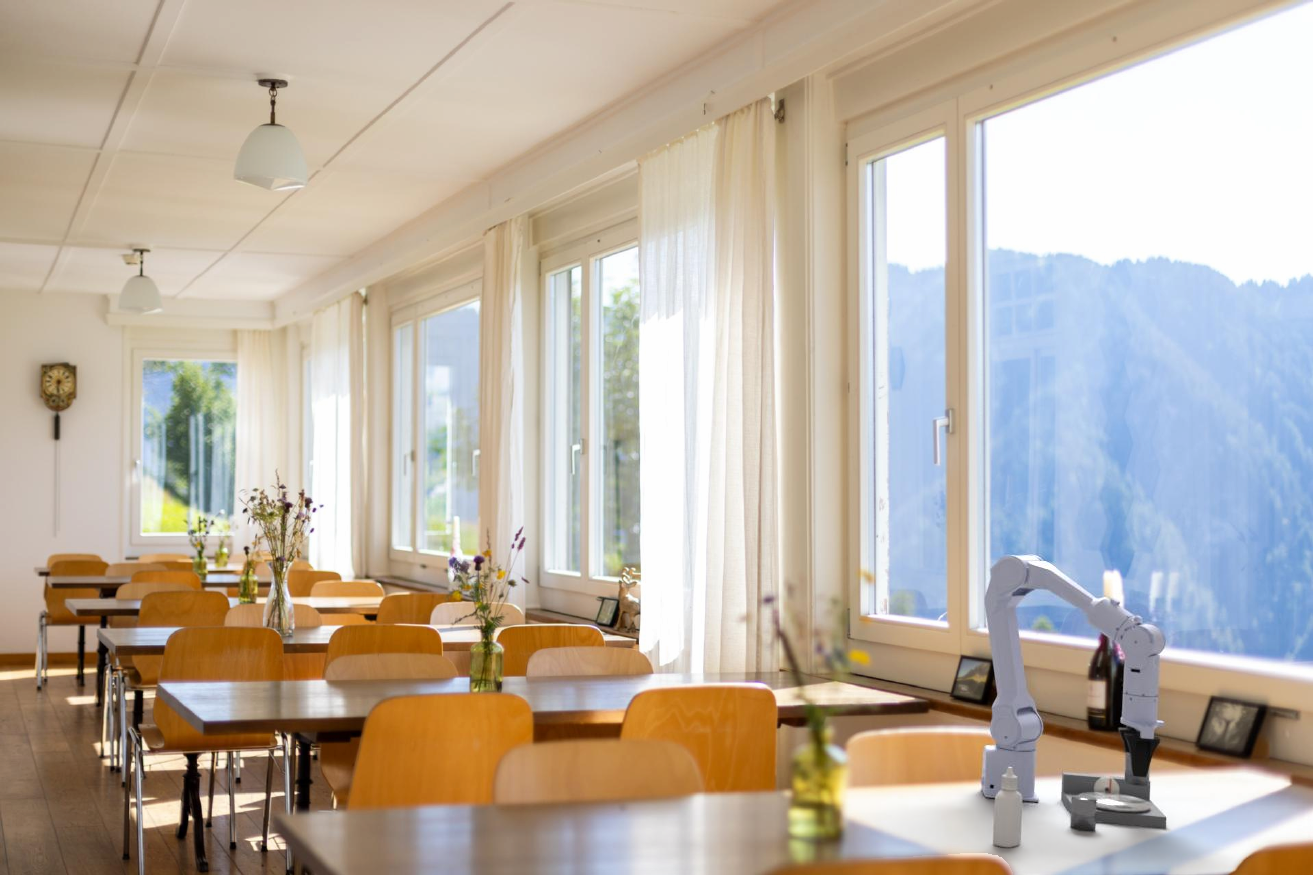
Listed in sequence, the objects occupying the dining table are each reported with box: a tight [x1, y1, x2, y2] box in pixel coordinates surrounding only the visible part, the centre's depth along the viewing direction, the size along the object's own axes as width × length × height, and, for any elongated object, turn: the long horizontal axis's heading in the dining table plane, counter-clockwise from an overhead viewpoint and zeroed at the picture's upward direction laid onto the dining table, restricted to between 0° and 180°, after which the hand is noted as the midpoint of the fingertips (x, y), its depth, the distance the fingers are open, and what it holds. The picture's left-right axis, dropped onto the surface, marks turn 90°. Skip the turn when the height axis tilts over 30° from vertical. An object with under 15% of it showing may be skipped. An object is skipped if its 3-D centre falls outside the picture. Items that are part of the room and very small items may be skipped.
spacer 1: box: [1069, 795, 1097, 833], centre depth 219 cm, size 4×4×5 cm
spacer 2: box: [1124, 751, 1151, 786], centre depth 225 cm, size 4×4×5 cm
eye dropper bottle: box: [992, 767, 1023, 849], centre depth 206 cm, size 4×6×12 cm
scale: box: [1060, 771, 1167, 829], centre depth 230 cm, size 15×15×5 cm
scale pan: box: [1079, 792, 1150, 812], centre depth 229 cm, size 12×12×1 cm
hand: (1137, 773), depth 225 cm, fingers closed on spacer 2, 4 cm apart
